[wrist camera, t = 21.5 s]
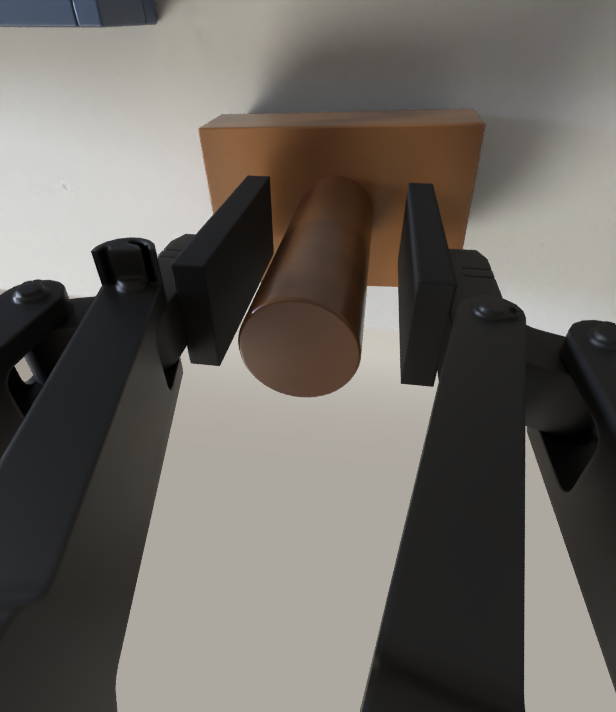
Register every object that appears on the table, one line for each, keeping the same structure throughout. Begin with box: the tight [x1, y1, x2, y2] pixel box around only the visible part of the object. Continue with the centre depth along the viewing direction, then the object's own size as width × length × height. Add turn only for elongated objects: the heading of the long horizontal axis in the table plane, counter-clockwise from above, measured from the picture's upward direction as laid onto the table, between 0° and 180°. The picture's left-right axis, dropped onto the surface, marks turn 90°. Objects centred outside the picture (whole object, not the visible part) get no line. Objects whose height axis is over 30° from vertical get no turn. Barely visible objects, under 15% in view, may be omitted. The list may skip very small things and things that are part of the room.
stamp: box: [199, 109, 485, 397], centre depth 14 cm, size 9×6×12 cm, turn 93°
